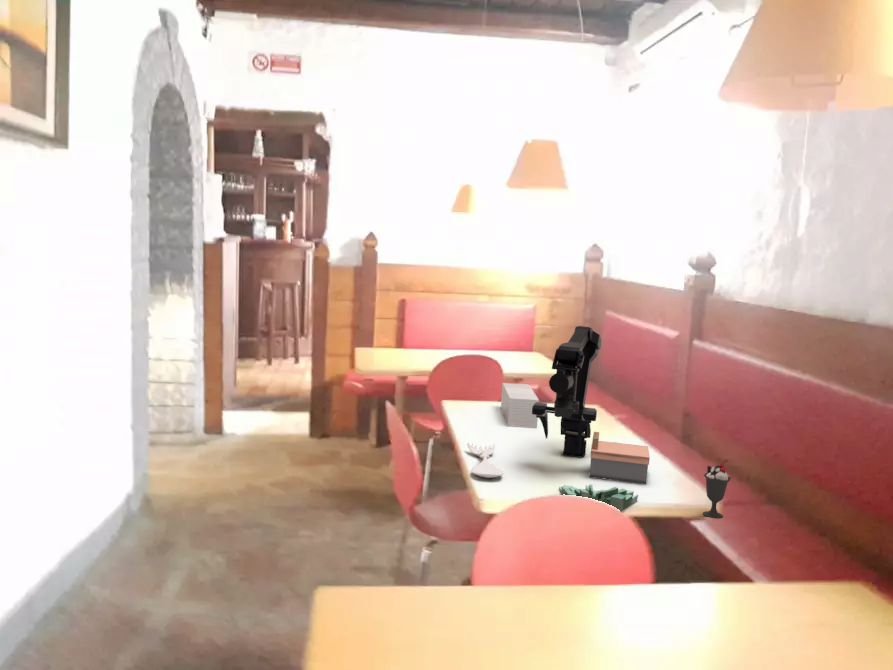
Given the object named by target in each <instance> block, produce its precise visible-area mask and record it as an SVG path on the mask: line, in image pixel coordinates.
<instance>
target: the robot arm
mask: <svg viewBox="0 0 893 670" xmlns="http://www.w3.org/2000/svg"><path fill="white" fill-rule="evenodd" d="M601 347H602V338H601V335H600V334H599V333H597V332H596V331H595V330H593V328H592V327H590V326H585V325H584V326H583V325H578V326H576V325H575V328H574V331H573V334H572V335H571V336H570V339H569V340H568V342H563V343H561V344H560V345H559V346H558V348H556V350H555V353H554V357H553V360H552V365H551V370H556V372H555V373H554V374H553V375H551V377H550V379H549V381H548V383H549V384H548V385H549V388H550V390H551V391H552V392H554V393H555V400H554V406H548V403H546V402H540V401H539V402H536V403H535V404H534V405H533V407H532V414H533V415H536V417H537V419H539V420H540V422H541V425H542V428H543V432H544V436H545V439H548V437H549V422H548V421H549V417H548V416H549V414H554V417H556V418H560V435H561V436H564V441H563V443H564V444H563V452H562V455H563V456H570V457H577V458H584V455H586V451H587V440H586V439H590V438H591V433H592V432H591V431H592V430H591V429H592V428H591V423H592V422H596V421H597V414H598V411H597V409H596V408H594V407H585V405H586V399H587V392H588V388H589V387H588V386H589V380H590V375H591V374H590V372H591V366H592V362H593V361H594V360H595V359H596V358H597V357H598V356H599V355H598V354H599V351H600V350H601Z"/></svg>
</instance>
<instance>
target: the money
mask: <svg viewBox="0 0 893 670" xmlns="http://www.w3.org/2000/svg"><path fill="white" fill-rule="evenodd" d="M559 489H560V490H559ZM558 490H559V492H560V491H561V492H560V493H561V494H562V493H563V494H565V495H576V496H582V497H588V498H592V499H595V500H598V501H602V502H605V503H607V504H609V505H612V506H614V507H616V508H617V509H619V510H620V511H621V512H623V511H625V510H626V509H628V507H630V506H632V505H634V504H635V502H638V497H639V494H638V493H637V494H634V493H635V491H633V490H627V489H624V488H620V489H619V487H616V486H614V487H611V488H608V489H601V490H594V487H593V484H589V485H585V488H577V487H574V486H573V485H569V484H568V485H566V484H564V485H562V486H559V487H558ZM563 494H562V495H563ZM621 512H620V513H621Z"/></svg>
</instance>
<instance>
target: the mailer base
mask: <svg viewBox="0 0 893 670" xmlns="http://www.w3.org/2000/svg"><path fill="white" fill-rule="evenodd" d="M589 465H590V467H589V478H593V477H596V479H601V478H605V479H604V480H609V479H611V480H612V481H617V480H618V481H620V482H625V481H626V482H628V483H633V482H634V483H635V484H641V483H643V484H642V485H647V481H648V480H647V479H648V471H649V470H648V468H649V465H646V464H638V463H629V462H621V461H612V460H604V459H596V458H590V464H589ZM611 480H610V481H611ZM634 483H633V484H634Z"/></svg>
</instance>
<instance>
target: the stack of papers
mask: <svg viewBox="0 0 893 670" xmlns="http://www.w3.org/2000/svg"><path fill="white" fill-rule="evenodd" d="M501 387H502V388H501V402H500V410H501V413H502V416H503V419H504V421H505V423H506V426H507V428H508V427H511V428H523V429H525V428H526V429H537V428H538V420H539V418H537V417H536V415H533V414H532V407H533V405H534V404H535V403H536V402H539V403H540V399H539V398H538V396H537V395H536V393H535V392H534V390H533V388H532V387H531V386H530V384H527V383H513V382H512V383H511V382H510V383H509V382H502V386H501Z"/></svg>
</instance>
